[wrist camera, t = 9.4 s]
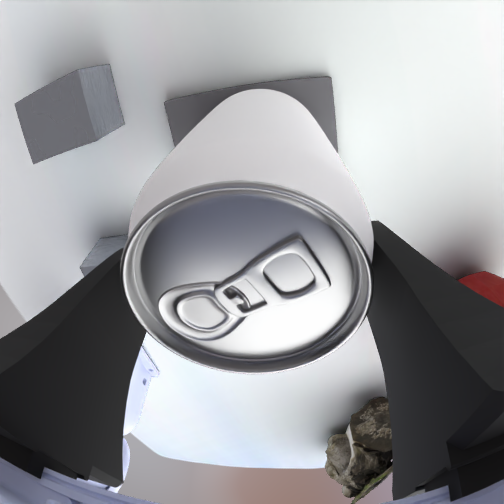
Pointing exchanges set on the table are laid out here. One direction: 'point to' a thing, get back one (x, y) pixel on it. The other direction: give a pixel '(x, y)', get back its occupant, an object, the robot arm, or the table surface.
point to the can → (250, 241)
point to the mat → (303, 90)
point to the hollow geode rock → (362, 451)
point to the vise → (73, 127)
